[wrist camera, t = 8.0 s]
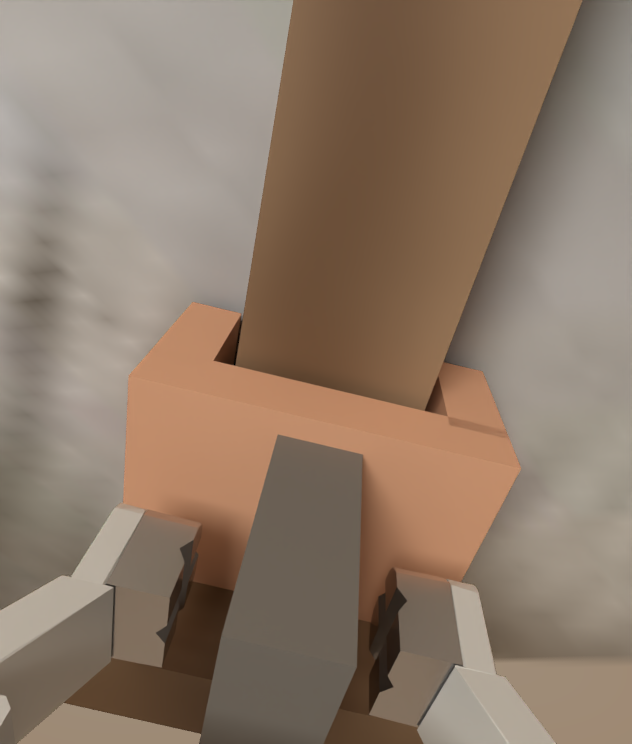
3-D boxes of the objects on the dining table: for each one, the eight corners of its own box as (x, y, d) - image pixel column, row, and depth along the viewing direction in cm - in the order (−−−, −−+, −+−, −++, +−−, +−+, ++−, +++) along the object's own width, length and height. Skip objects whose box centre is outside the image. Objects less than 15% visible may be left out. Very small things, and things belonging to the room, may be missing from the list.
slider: (482, 371, 12) (611, 697, 6) (419, 518, 15) (457, 869, 8) (192, 301, 12) (-25, 550, 6) (175, 461, 15) (10, 770, 8)
